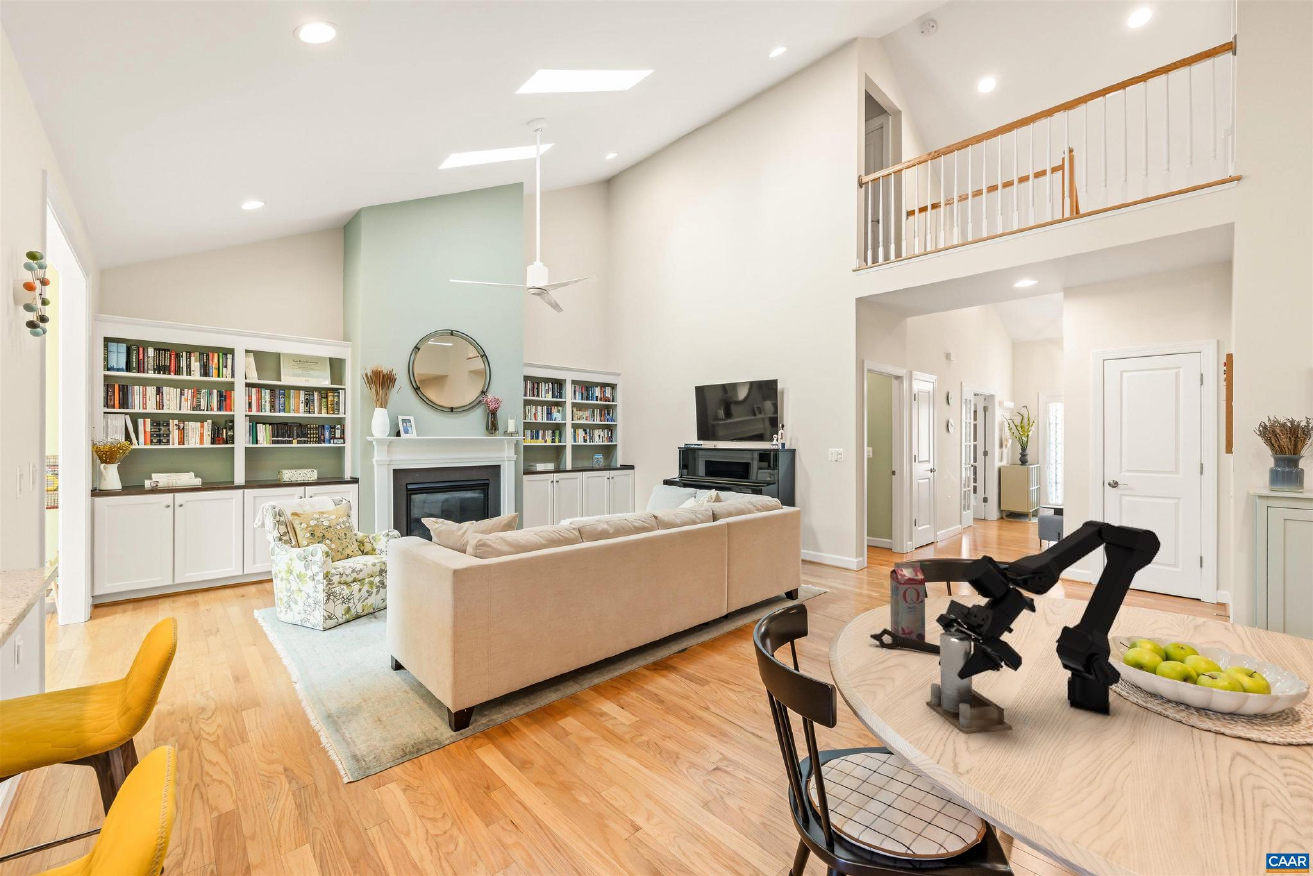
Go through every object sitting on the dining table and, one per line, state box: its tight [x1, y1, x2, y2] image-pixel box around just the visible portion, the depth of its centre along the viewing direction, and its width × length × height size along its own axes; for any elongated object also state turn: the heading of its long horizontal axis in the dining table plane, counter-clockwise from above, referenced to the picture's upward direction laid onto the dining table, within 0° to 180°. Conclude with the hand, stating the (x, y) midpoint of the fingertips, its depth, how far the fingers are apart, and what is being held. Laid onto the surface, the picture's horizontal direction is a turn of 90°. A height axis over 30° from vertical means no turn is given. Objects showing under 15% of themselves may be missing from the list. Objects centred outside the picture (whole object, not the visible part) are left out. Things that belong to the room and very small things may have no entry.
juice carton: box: [889, 561, 926, 642], centre depth 156 cm, size 7×7×22 cm
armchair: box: [925, 682, 1013, 735], centre depth 116 cm, size 10×12×5 cm
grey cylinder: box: [939, 631, 973, 713], centre depth 115 cm, size 6×6×14 cm
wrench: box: [870, 627, 1001, 671], centre depth 147 cm, size 5×5×30 cm
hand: (949, 671), depth 115 cm, fingers closed on grey cylinder, 6 cm apart
